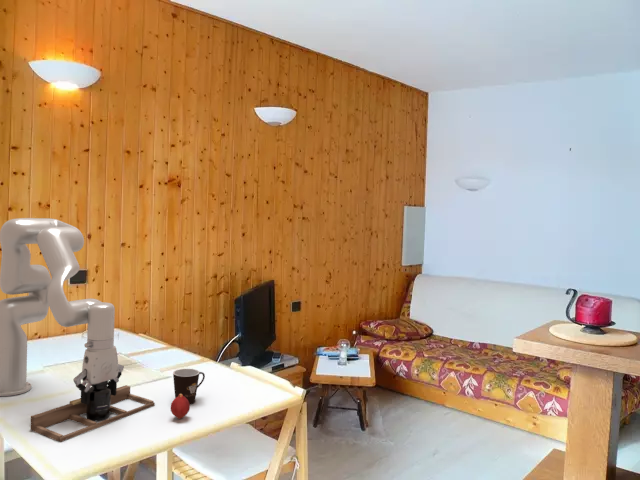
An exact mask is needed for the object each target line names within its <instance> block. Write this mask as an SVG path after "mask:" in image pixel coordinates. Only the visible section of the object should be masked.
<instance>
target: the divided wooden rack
mask: <svg viewBox="0 0 640 480" xmlns="http://www.w3.org/2000/svg"><path fill="white" fill-rule="evenodd" d="M125 399H126V400H130V401H132V402H136V403H140V404H144V405H141V406H138V407H136V408H133V409H130V410H128V411H127V410H126V409H122V408H120V407H116V406H113V405H114V404H117V403H120V402H124V401H125ZM155 403H156V402H154V400H152V399H149V398H145V397H142V396H139V395H135V394H132V393H131V386H130V385H128V384H127V385H122V386H120V387H117V390H116V395H115V396H114V395H111V404H110V413H112V414H115V415H114V416H112V417H108V418H107V419H105V420H102V421H92V420H89V419H87V418H86V417H83V415H86V407H87V405H86V404H83V403H81V397H79V398H76V399H74V400H70V401H69V403H67V404H64V405H61V406H59V407H55V408H51V409H49V410H48V409H47V410H45V411H43V412H39V413H36V414H34V415H30V431H31V432H35V433H37V434H40V435H42V436H45V437H47V438H50V439H52V440H55V441H57V442H58V443H62V442H64V441H67V440H70V439H72V438H75V437H77V436H80V435H82V434H85V433H87V432H90V431H92V430H95V429H98V428H101V427H103V426H105V425H106V426H107V425H108V424H112V423H114V422H116V421H118V420H122V419H124V418H126V417H129V416H132V415H133V414H137V413H139V412H141V411H144V410H147V409H150V408H151V407H155V405H156V404H155ZM69 420H70V421H72V422H75V423H78V424H81V425H84V426H86V427H81V428H79V429H77V430H74V431H72V432H69V433H67V434H64V435H63V434H61V433H59V432H57V431H53V430H52V429H49V427H51V426H54V425H57V424H60V423H63V422H66V421H69Z"/></svg>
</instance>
